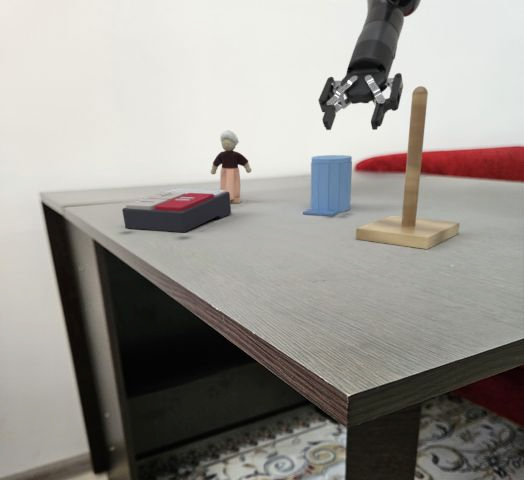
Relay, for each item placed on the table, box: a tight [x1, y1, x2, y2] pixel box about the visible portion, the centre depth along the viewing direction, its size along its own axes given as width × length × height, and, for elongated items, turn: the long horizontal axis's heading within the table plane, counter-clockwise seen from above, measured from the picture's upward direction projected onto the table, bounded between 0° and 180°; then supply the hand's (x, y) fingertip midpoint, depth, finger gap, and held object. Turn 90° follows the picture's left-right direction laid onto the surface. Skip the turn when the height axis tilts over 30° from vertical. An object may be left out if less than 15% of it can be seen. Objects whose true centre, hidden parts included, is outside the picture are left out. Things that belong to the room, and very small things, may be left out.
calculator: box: [121, 187, 232, 233], centre depth 83 cm, size 11×4×15 cm
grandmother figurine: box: [210, 129, 252, 204], centre depth 97 cm, size 8×4×13 cm, turn 90°
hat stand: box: [355, 85, 461, 250], centre depth 66 cm, size 10×10×18 cm
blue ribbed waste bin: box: [302, 154, 353, 217], centre depth 87 cm, size 9×7×8 cm
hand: (349, 126), depth 91 cm, fingers open, 8 cm apart
